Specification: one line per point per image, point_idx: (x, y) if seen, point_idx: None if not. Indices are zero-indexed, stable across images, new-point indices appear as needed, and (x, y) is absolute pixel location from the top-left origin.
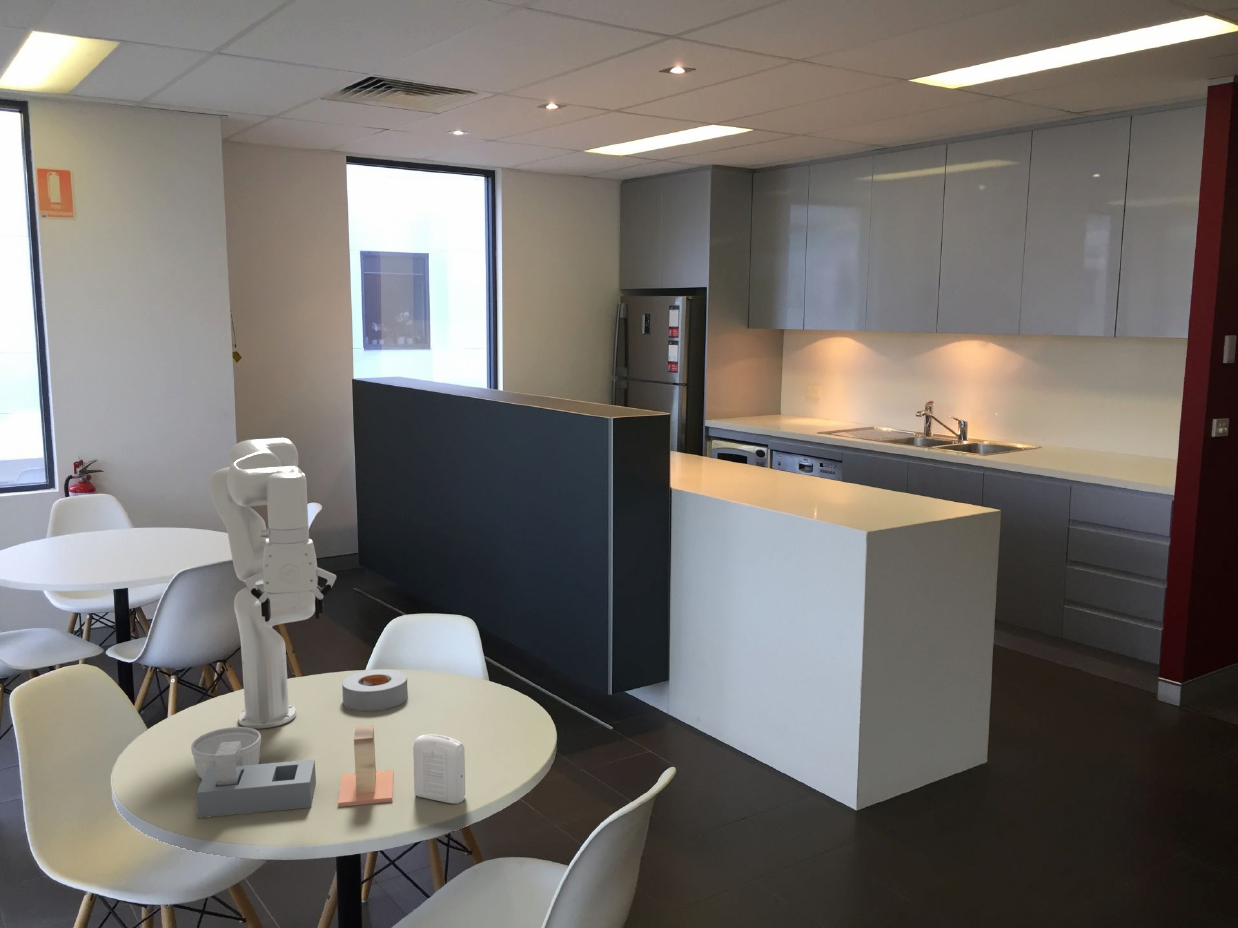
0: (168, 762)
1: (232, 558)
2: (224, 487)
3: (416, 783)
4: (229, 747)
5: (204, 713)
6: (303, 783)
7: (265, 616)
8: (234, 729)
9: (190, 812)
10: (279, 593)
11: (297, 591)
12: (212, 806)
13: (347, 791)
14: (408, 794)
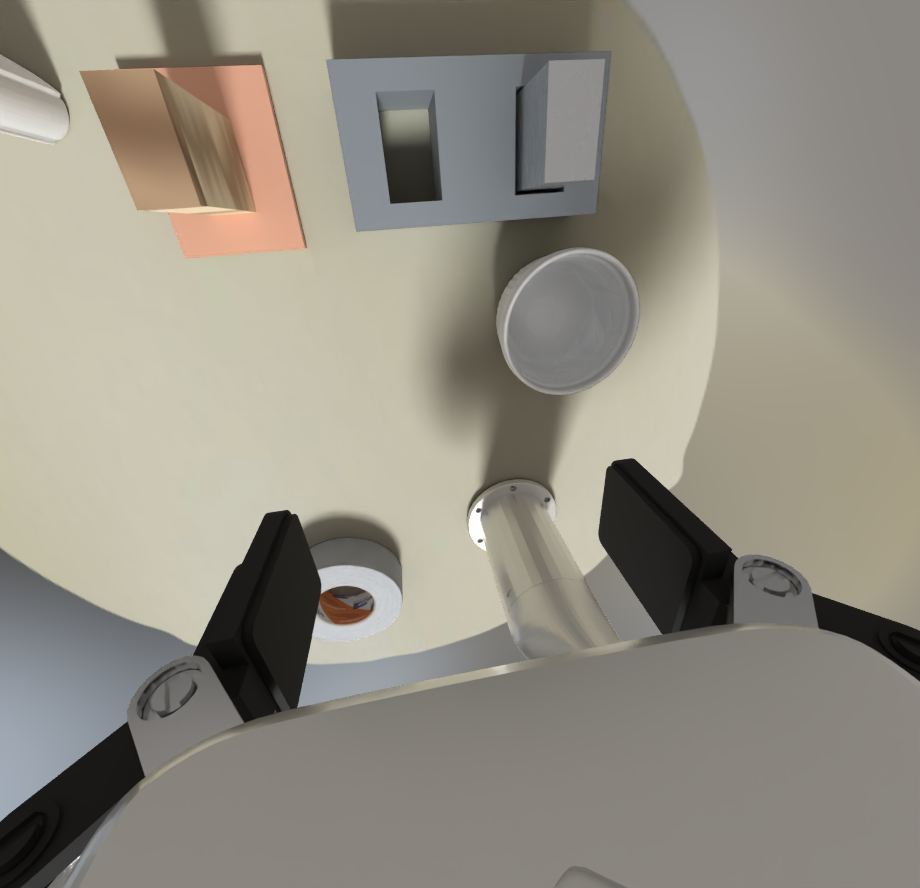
0: (648, 365)
1: None
2: None
3: (21, 71)
4: (569, 129)
5: None
6: (343, 59)
7: (647, 475)
8: (561, 390)
9: None
10: (656, 636)
11: (409, 698)
12: None
13: (259, 141)
14: (92, 115)
